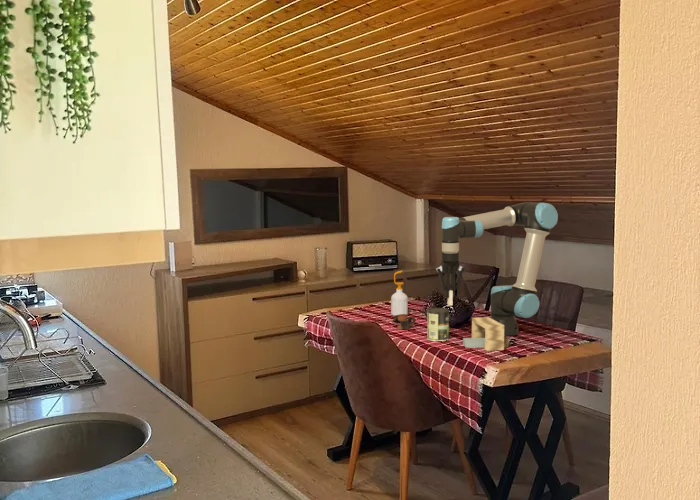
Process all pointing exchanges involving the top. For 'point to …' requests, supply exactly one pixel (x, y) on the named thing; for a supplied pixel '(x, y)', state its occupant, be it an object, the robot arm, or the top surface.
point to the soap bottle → (399, 300)
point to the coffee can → (438, 324)
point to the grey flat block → (473, 342)
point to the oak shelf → (489, 333)
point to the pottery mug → (403, 321)
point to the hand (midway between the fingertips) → (450, 304)
